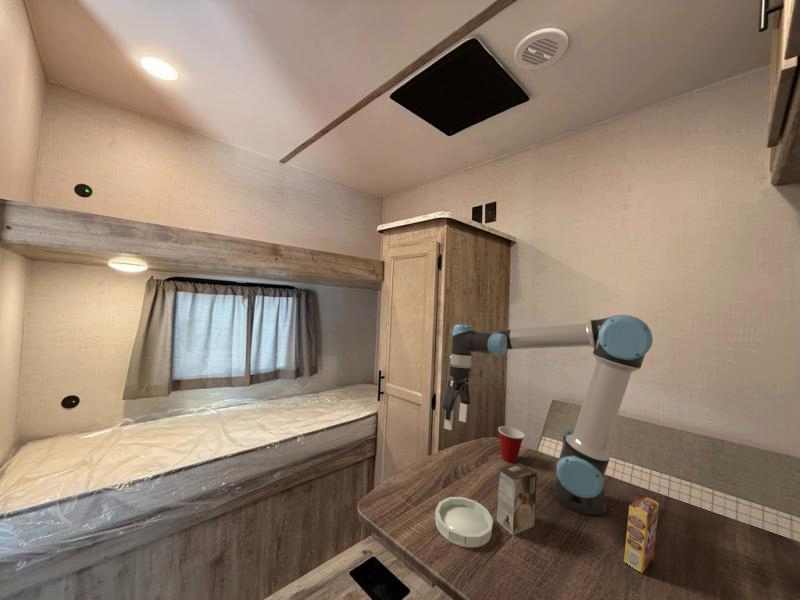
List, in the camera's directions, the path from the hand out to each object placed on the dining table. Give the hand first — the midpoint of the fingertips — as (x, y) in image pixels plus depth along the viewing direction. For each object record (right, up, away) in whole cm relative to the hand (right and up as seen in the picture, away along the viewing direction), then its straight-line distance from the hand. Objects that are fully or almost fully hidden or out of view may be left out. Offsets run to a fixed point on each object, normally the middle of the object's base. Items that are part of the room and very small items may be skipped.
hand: (455, 425), depth 111 cm
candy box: (+42, -23, -32) cm, 58 cm away
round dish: (-2, -20, -22) cm, 30 cm away
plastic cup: (+26, -22, +17) cm, 38 cm away
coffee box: (+14, -21, -21) cm, 33 cm away
